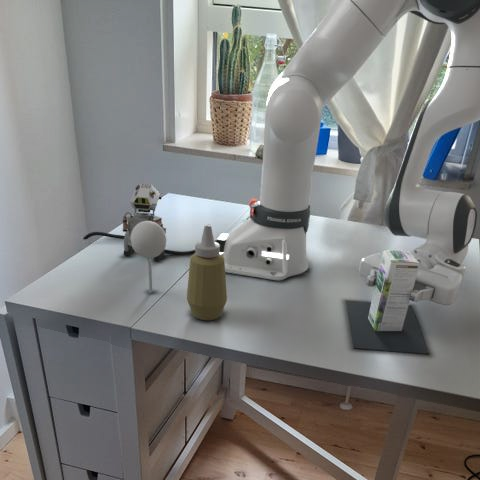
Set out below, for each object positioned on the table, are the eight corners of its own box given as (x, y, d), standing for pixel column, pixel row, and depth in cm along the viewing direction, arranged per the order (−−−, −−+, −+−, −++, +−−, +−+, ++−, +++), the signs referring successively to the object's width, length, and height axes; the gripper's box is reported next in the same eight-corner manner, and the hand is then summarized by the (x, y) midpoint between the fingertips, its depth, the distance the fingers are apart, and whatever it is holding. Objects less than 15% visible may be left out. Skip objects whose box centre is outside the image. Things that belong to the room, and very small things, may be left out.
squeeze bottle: (221, 326, 111) (224, 235, 100) (181, 320, 112) (180, 230, 101) (230, 308, 117) (234, 220, 106) (192, 302, 118) (192, 215, 107)
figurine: (173, 247, 141) (171, 184, 132) (156, 264, 132) (153, 198, 123) (138, 242, 143) (134, 180, 133) (120, 259, 134) (114, 193, 125)
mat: (353, 348, 107) (354, 347, 107) (346, 301, 122) (346, 300, 122) (428, 354, 106) (428, 353, 106) (410, 306, 122) (411, 305, 122)
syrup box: (366, 318, 116) (381, 249, 107) (394, 318, 117) (411, 249, 108) (374, 331, 112) (389, 261, 103) (403, 332, 112) (421, 261, 103)
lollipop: (173, 288, 123) (171, 219, 114) (158, 302, 118) (156, 230, 108) (143, 282, 125) (139, 213, 115) (128, 295, 119) (122, 224, 110)
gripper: (380, 240, 120) (347, 258, 112) (473, 269, 111) (445, 290, 102) (374, 269, 124) (342, 288, 116) (463, 298, 115) (435, 322, 106)
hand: (391, 289), depth 109 cm, fingers open, 8 cm apart
